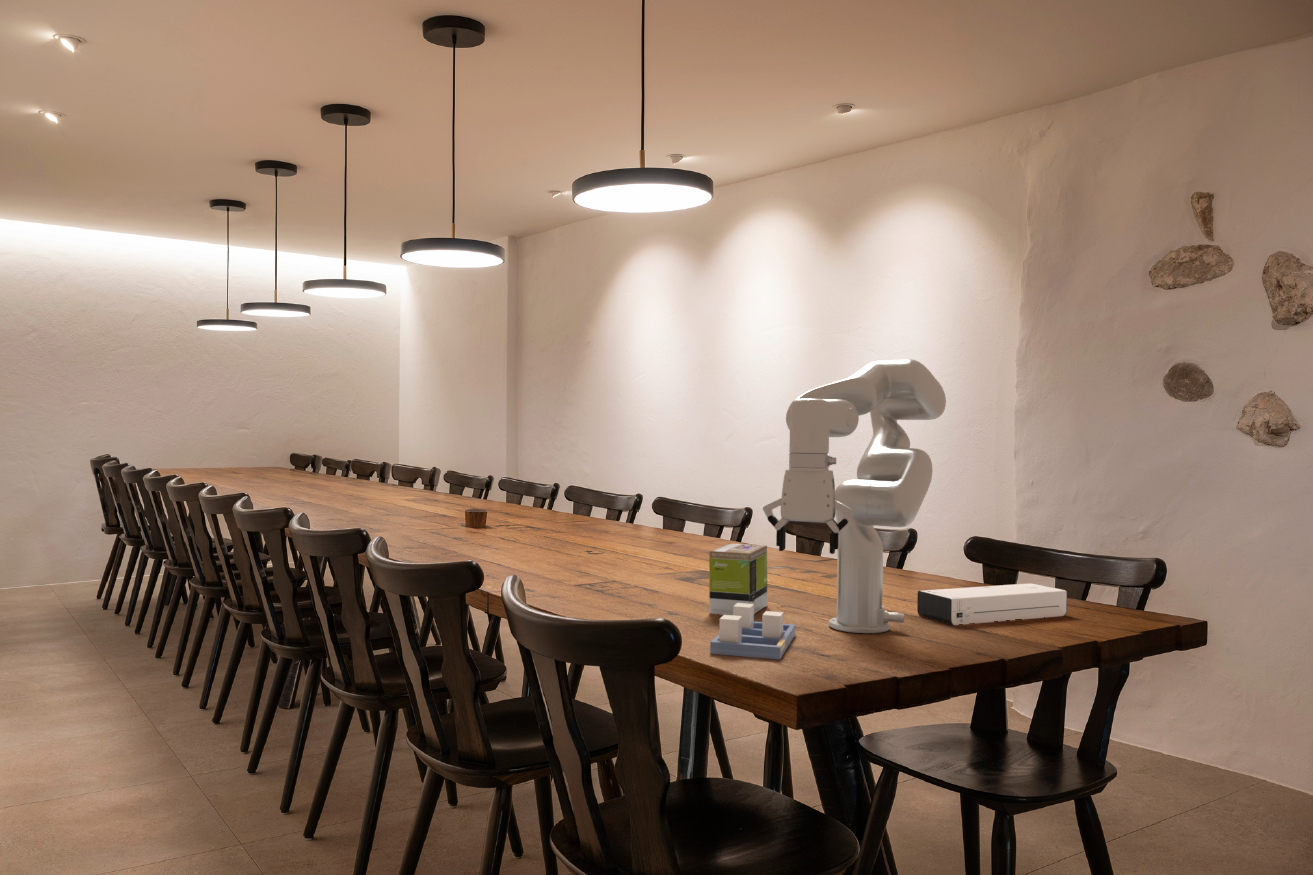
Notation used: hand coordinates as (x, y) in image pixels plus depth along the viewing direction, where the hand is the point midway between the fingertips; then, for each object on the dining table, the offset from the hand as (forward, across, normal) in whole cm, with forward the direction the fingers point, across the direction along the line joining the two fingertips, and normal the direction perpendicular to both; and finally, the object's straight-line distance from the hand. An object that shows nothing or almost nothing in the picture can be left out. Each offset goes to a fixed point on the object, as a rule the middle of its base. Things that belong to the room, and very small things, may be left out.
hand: (807, 551), depth 174 cm
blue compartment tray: (+19, +10, 0) cm, 21 cm away
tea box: (+19, +20, -32) cm, 42 cm away
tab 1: (+17, +13, +7) cm, 23 cm away
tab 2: (+17, +14, -6) cm, 23 cm away
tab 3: (+17, +6, 0) cm, 19 cm away
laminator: (+19, -36, -48) cm, 63 cm away
